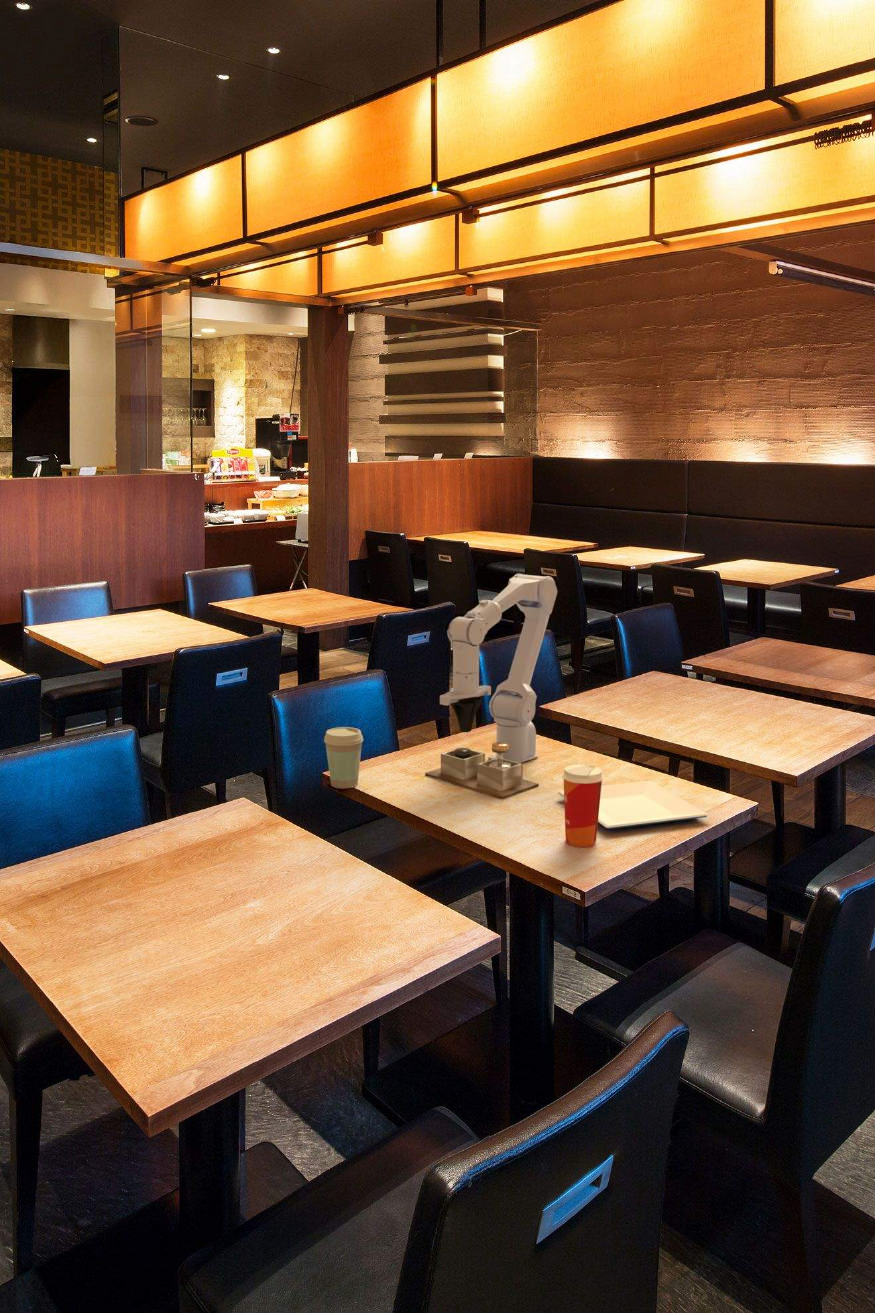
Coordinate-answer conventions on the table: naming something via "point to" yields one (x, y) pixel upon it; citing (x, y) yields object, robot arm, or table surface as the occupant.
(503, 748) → the copper plunger
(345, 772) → the coffee cup
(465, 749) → the black plunger
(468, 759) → the press stand
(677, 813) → the plate
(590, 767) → the paper cup
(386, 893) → the table surface
